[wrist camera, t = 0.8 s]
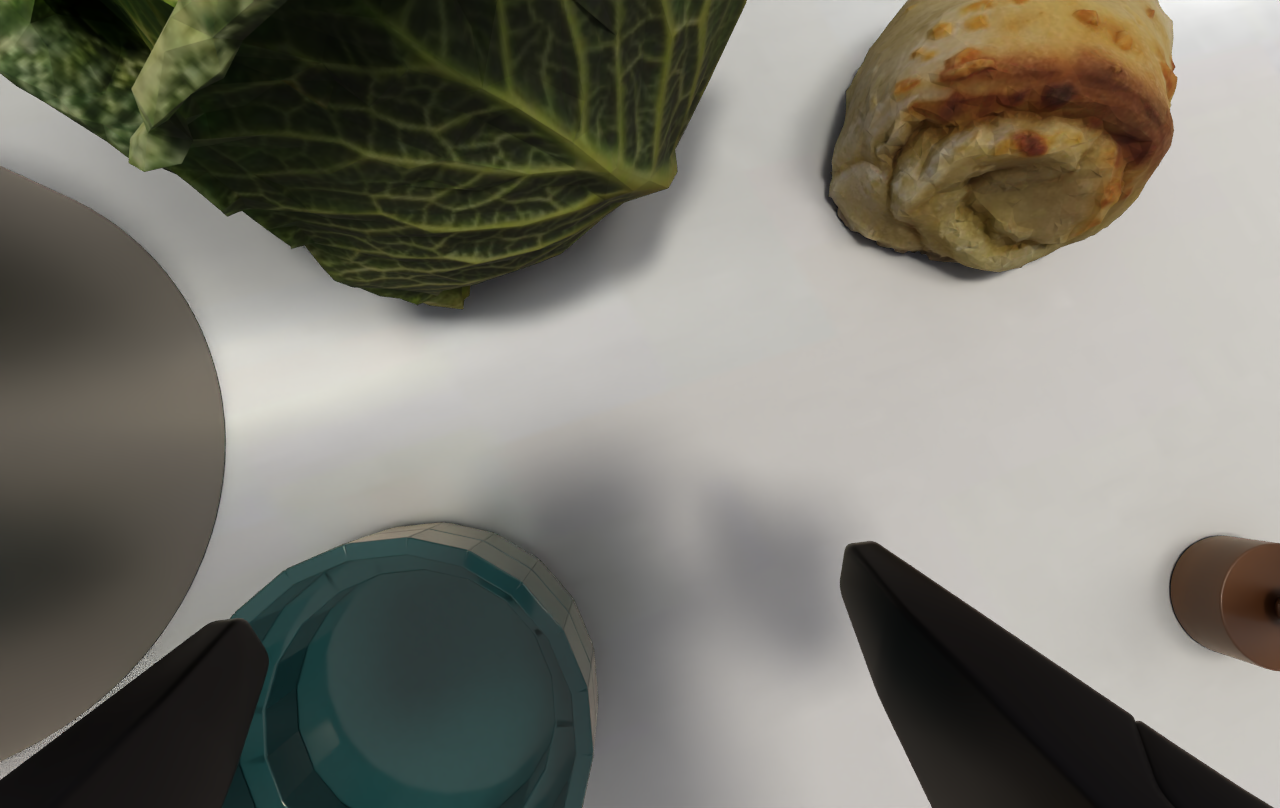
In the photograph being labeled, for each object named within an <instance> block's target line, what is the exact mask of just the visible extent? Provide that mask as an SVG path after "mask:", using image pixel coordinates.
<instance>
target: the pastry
mask: <svg viewBox="0 0 1280 808" xmlns="http://www.w3.org/2000/svg"><path fill="white" fill-rule="evenodd" d="M1172 45H1173V21H1172V20H1171V19H1170V18H1169V17H1168V16H1167V15H1166V14H1165V13H1164V11H1163V10H1162V9H1161V7H1160V5H1159V2H1158V0H908V1H907V2H906V3H905V4H904V6H903V7H902V8H901V9H900V10H899V12H898V13H897V14H896V16H895V17H894V18H893V19H892V21H891V22H890V23H889V24H888V26H887V27H886V28H885V30H884V31H883V33H882V34H881V35H880V37H879V38H878V39H877V40H876V42H875V43H874V44H873V45H872V46H871V48H870V49H869V51H868V53H867V55H866V57H865V59H864V62H863V63H862V65H861V67H860V68H859V70H858V71H857V73H856V75H855V77H854V79H853V81H852V83H851V86H850V87H849V88H848V89H847V91H846V115H845V122H844V125H843V128H842V130H841V133H840V135H839V137H838V140H837V142H836V144H835V148H834V153H833V158H832V172H831V174H832V180H831V183H830V189H829V195H828V196H829V197H831V198H832V199H833V201H834V203H835V204H836V205H837V206H838V212H837V214H838V217H839V218H840V219H842V221H843V222H844V223H845V225H844V226H847V227H848V228H849V229H850V230H851V231H854V232H858V233H860V234H862V235H863V236H865V237H866V238H869V239H872V240H876V241H877V245H878V246H882V247H886V248H893V249H894V250H895V251H896V252H900V253H906V252H908V251H911V252H914V253H915V252H917V251H920V252H921V254H926V255H927V256H928V258H929V260H935V261H942V262H956V263H961V264H962V265H964V266H967V267H971V268H975V269H979V270H985V271H995V272H1002V271H1007V270H1011V269H1015V268H1021V267H1022V266H1023V265H1025V264H1027V263H1029V262H1032V261H1034V260H1037V259H1039V258H1041V257H1043V256H1046V255H1048V254H1050V253H1051V252H1053V251H1055V250H1057V249H1059V248H1060V247H1063V246H1066V245H1068V244H1071V243H1075V242H1078V241H1081V240H1084V239H1086V238H1088V237H1090V236H1092V235H1095V234H1096V233H1098V232H1099V231H1100V230H1102V229H1103V228H1106V227H1108V226H1109V225H1110V224H1111V223H1112V222H1113V221H1114V220H1115V219H1117V218H1118V217H1120V216H1121V215H1122V214H1123V213H1124V212H1125V211H1126V210H1127V209H1128V208H1129V207H1130V206H1131V204H1132V203H1133V202H1134V201H1135V200H1136V199H1137V198H1138V196H1139V195H1140V193H1141V191H1142V189H1143V188H1144V186H1145V184H1146V182H1147V181H1148V179H1149V178H1150V177H1151V175H1152V174H1153V172H1154V171H1155V169H1156V168H1157V167H1158V166H1159V163H1160V162H1161V160H1162V159H1163V157H1164V156H1165V154H1166V153H1167V151H1168V149H1169V148H1170V146H1171V142H1172V137H1173V132H1174V128H1173V120H1172V117H1171V113H1170V106H1171V103H1170V102H1171V99H1172V97H1173V95H1174V92H1175V89H1176V84H1177V77H1176V76H1175V75H1174V73H1173V70H1174V68H1175V65H1174V63H1173V61H1172V55H1171V54H1172Z"/></svg>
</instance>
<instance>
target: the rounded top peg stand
mask: <svg viewBox="0 0 1280 808" xmlns="http://www.w3.org/2000/svg"><path fill="white" fill-rule="evenodd" d="M1171 600H1172V605H1173V608H1174V611H1175V614H1176V616H1177V618H1178V620H1179V622H1180V624H1181V625H1182V627H1183V628H1184V629H1185V631H1186V632H1187V633H1188V634H1189V635H1190V636H1191V637H1192V638H1193V639H1194V640H1195V641H1197V642H1198V643H1199V644H1201V645H1203V646H1204V647H1206V648H1208V649H1210V650H1213V651H1215V652H1218V653H1221V654H1224V655H1227V656H1230V657H1233V658H1236V659H1239V660H1242V661H1245V662H1248V663H1251V664H1254V665H1257V666H1260V667H1263V668H1266V669H1270V670H1273V671H1280V543H1273V542H1266V541H1259V540H1252V539H1245V538H1238V537H1230V536H1214V537H1209V538H1206V539H1203V540H1200V541H1198V542H1196V543H1195V544H1193V545H1192V546H1190V547H1189V548H1188V549H1187V550H1186V551H1185V552H1184V553H1183V554H1182V556H1181V557H1180V559H1179V560H1178V562H1177V564H1176V566H1175V568H1174V571H1173V575H1172V579H1171Z"/></svg>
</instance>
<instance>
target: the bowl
mask: <svg viewBox="0 0 1280 808" xmlns="http://www.w3.org/2000/svg"><path fill="white" fill-rule="evenodd" d="M235 618H242V619H244V620H246V621H248V623H249V624H250V625H251V627H252V629H253V630H254V632H255V633H256V635H257V636H258V638H259V640H260V641H261V643H262V644H263V646H264V647H265V649H266V651H267V653H268V657H269V666H268V671H267V675H266V678H265V681H264V684H263V687H262V690H261V694H260V697H259V700H258V703H257V706H256V709H255V713H254V716H253V719H252V722H251V725H250V728H249V732H248V735H247V738H246V741H245V744H244V747H243V751H242V754H241V757H240V760H239V763H238V766H237V769H236V772H235V774H234V777H233V780H232V783H231V786H230V788H229V791H228V793H227V796H226V798H225V801H224V803H223V806H222V808H582V807H583V803H584V798H585V793H586V789H587V784H588V780H589V775H590V770H591V766H592V761H593V756H594V745H595V734H596V722H597V711H598V688H597V677H596V666H595V655H594V648H593V644H592V642H591V639H590V637H589V634H588V632H587V630H586V627H585V625H584V623H583V620H582V618H581V615H580V613H579V611H578V608H577V606H576V603H575V601H574V600H573V599H572V596H571V595H570V594H569V593H568V592H567V590H566V589H565V588H564V587H563V586H562V585H561V583H560V582H559V581H558V580H557V579H556V578H555V577H554V575H553V574H552V573H551V572H550V571H549V570H548V568H547V567H546V566H545V565H544V564H543V563H542V562H541V560H538V558H537V557H535V556H533V555H532V554H530V553H528V552H527V551H525V550H523V549H521V548H520V547H518V546H516V545H515V544H513V543H511V542H510V541H508V540H506V539H505V538H503V537H501V536H499V535H498V534H495V533H494V532H489V531H484V530H480V529H475V528H471V527H466V526H461V525H457V524H452V523H447V522H445V523H443V522H440V523H430V524H420V525H411V526H401V527H394V528H389V529H386V530H383V531H381V532H378V533H375V534H372V535H369V536H366V537H363V538H360V539H357V540H354V541H351V542H348V543H345V544H342V545H340V546H338V547H335V548H333V549H331V550H328V551H326V552H324V553H322V554H319V555H317V556H315V557H312V558H310V559H308V560H305V561H303V562H301V563H299V564H296V565H294V566H292V567H289V568H287V569H286V570H284V571H283V572H281V573H280V574H279V575H278V576H277V577H276V578H274V579H273V580H272V581H271V582H270V583H269V584H267V585H266V586H265V587H264V588H263V589H262V590H260V591H259V592H258V593H257V594H256V595H255V596H253V597H252V598H251V599H250V600H249V601H248V602H246V603H245V604H244V605H243V606H242V607H241V608H239V609H238V610H237V611H236V612H235V614H233V615H232V617H231V618H230V619H235Z"/></svg>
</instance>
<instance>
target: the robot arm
mask: <svg viewBox="0 0 1280 808" xmlns="http://www.w3.org/2000/svg"><path fill="white" fill-rule="evenodd" d="M840 590H841V594H842V598H843V601H844V603H845V606H846V609H847V612H848V614H849V617H850V620H851V623H852V625H853V628H854V631H855V634H856V636H857V639H858V642H859V645H860V648H861V650H862V653H863V656H864V659H865V661H866V664H867V667H868V670H869V672H870V675H871V678H872V680H873V683H874V686H875V688H876V691H877V693H878V696H879V698H880V700H881V702H882V704H883V707H884V709H885V711H886V713H887V715H888V717H889V719H890V721H891V724H892V726H893V728H894V730H895V732H896V734H897V736H898V738H899V740H900V742H901V744H902V746H903V748H904V750H905V753H906V755H907V757H908V759H909V761H910V763H911V765H912V767H913V769H914V771H915V773H916V775H917V777H918V780H919V782H920V784H921V786H922V788H923V790H924V792H925V794H926V796H927V798H928V800H929V802H930V804H931V806H932V808H1273V807H1272V806H1270V805H1268V804H1267V803H1265V802H1264V801H1262V800H1260V799H1259V798H1257V797H1256V796H1254V795H1252V794H1251V793H1249V792H1247V791H1246V790H1244V789H1243V788H1241V787H1239V786H1238V785H1236V784H1235V783H1233V782H1232V781H1230V780H1229V779H1227V778H1226V777H1224V776H1223V775H1221V774H1220V773H1218V772H1217V771H1215V770H1214V769H1212V768H1210V767H1209V766H1207V765H1206V764H1204V763H1203V762H1201V761H1200V760H1198V759H1197V758H1195V757H1194V756H1192V755H1191V754H1189V753H1188V752H1186V751H1185V750H1183V749H1181V748H1180V747H1178V746H1177V745H1175V744H1174V743H1173V742H1171V741H1170V740H1168V739H1167V738H1165V737H1164V736H1162V735H1161V734H1159V733H1158V732H1156V731H1155V730H1153V729H1152V728H1150V727H1149V726H1147V725H1146V724H1144V723H1143V722H1141V721H1136V722H1135V720H1134V717H1133V716H1132V715H1131V714H1129V713H1128V712H1126V711H1125V710H1123V709H1122V708H1120V707H1119V706H1117V705H1116V704H1115V703H1113V702H1112V701H1110V700H1109V699H1107V698H1106V697H1104V696H1103V695H1101V694H1100V693H1098V692H1097V691H1095V690H1094V689H1092V688H1091V687H1089V686H1088V685H1086V684H1085V683H1083V682H1082V681H1081V680H1079V679H1078V678H1076V677H1075V676H1073V675H1072V674H1070V673H1069V672H1067V671H1066V670H1064V669H1063V668H1061V667H1060V666H1058V665H1057V664H1055V663H1054V662H1052V661H1051V660H1050V659H1048V658H1047V657H1045V656H1044V655H1042V654H1041V653H1039V652H1038V651H1036V650H1035V649H1033V648H1032V647H1030V646H1029V645H1027V644H1026V643H1024V642H1023V641H1021V640H1020V639H1018V638H1017V637H1016V636H1014V635H1013V634H1011V633H1010V632H1008V631H1007V630H1005V629H1004V628H1002V627H1001V626H999V625H998V624H996V623H995V622H993V621H992V620H990V619H989V618H987V617H986V616H984V615H983V614H982V613H980V612H979V611H977V610H976V609H974V608H973V607H971V606H970V605H968V604H967V603H965V602H964V601H962V600H961V599H959V598H958V597H956V596H955V595H953V594H952V593H951V592H949V591H948V590H946V589H945V588H943V587H942V586H940V585H939V584H937V583H936V582H934V581H933V580H931V579H930V578H928V577H927V576H925V575H924V574H922V573H921V572H919V571H918V570H917V569H915V568H914V567H912V566H911V565H909V564H908V563H906V562H905V561H903V560H902V559H900V558H899V557H897V556H896V555H894V554H893V553H891V552H890V551H888V550H887V549H885V548H884V547H883V546H881V545H880V544H878V543H876V542H873V541H867V542H858V543H851V544H848V545H847V547H846V548H845V551H844V558H843V564H842V570H841V577H840ZM268 666H269V657H268V653H267V651H266V649H265V647H264V646H263V644H262V643H261V641H260V640H259V638H258V636H257V635H256V633H255V632H254V630H253V629H252V627H251V625H250V624H249V623H248V621H246V620H244V619H242V618H235V619H227V620H219V621H214V622H211V623H209V624H207V625H206V626H204V627H203V628H202V629H200V630H199V631H198V632H196V633H195V634H194V635H192V636H191V637H190V638H188V639H187V640H186V641H184V642H183V643H182V644H180V645H179V646H178V647H176V648H175V649H174V650H172V651H171V652H170V653H168V654H167V655H166V656H164V657H163V658H162V659H161V660H159V661H158V662H157V663H155V664H154V665H153V666H151V667H150V668H149V669H147V670H146V671H145V672H143V673H142V674H141V675H139V676H138V677H137V678H135V679H134V680H133V681H131V682H130V683H129V684H127V685H126V686H125V687H123V688H122V689H121V690H119V691H118V692H117V693H115V694H114V695H113V696H111V697H110V698H109V699H107V700H106V701H105V702H103V703H102V704H101V705H99V706H98V707H97V708H95V709H94V710H93V711H91V712H90V713H89V714H87V715H86V716H85V717H83V718H82V719H81V720H80V721H78V722H77V723H76V724H74V725H73V726H72V727H70V728H69V729H68V730H66V731H65V732H64V733H62V734H61V735H60V736H58V737H57V738H56V739H54V740H53V741H52V742H50V743H49V744H48V745H46V746H45V747H44V748H42V749H41V750H40V751H38V752H37V753H36V754H34V755H33V756H32V757H30V758H29V759H28V760H26V761H25V762H24V763H22V764H21V765H20V766H18V767H17V768H16V769H14V770H13V771H12V772H10V773H9V774H8V775H6V776H5V777H4V778H3V779H1V780H0V808H222V806H223V803H224V801H225V798H226V796H227V793H228V791H229V788H230V786H231V783H232V780H233V777H234V774H235V772H236V769H237V766H238V763H239V760H240V757H241V754H242V751H243V747H244V744H245V741H246V738H247V735H248V732H249V728H250V725H251V722H252V719H253V716H254V713H255V709H256V706H257V703H258V700H259V697H260V694H261V690H262V687H263V684H264V681H265V678H266V675H267V671H268Z"/></svg>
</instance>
